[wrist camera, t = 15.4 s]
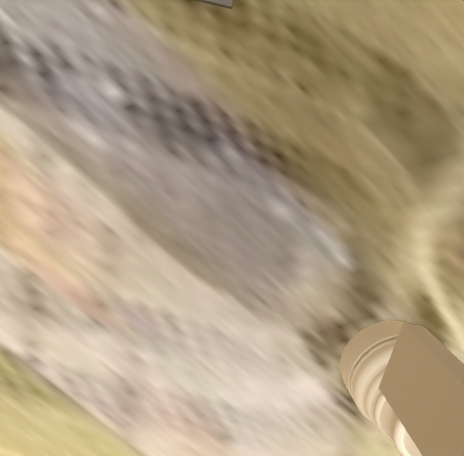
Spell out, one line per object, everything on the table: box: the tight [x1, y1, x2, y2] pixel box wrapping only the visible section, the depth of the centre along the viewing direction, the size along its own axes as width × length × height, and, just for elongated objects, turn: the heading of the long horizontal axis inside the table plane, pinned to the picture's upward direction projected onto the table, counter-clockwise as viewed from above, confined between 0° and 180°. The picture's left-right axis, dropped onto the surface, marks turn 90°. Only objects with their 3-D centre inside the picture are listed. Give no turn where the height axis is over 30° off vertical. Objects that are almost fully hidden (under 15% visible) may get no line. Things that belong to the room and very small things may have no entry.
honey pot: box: [339, 320, 422, 456], centre depth 40 cm, size 13×13×18 cm
